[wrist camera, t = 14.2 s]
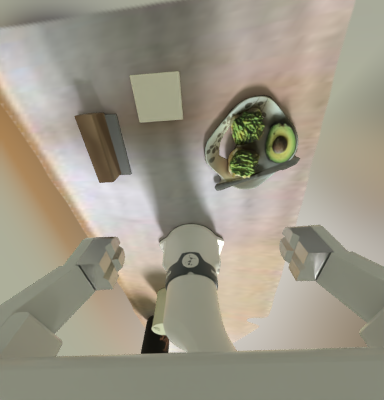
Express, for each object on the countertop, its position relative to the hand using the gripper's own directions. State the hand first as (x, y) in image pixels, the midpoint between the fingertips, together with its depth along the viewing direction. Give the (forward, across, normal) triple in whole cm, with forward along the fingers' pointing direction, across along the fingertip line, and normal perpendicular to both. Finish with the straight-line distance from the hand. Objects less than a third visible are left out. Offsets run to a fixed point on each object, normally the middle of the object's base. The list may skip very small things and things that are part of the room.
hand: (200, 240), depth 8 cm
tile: (+28, +10, -6) cm, 31 cm away
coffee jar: (+30, +21, +79) cm, 87 cm away
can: (+30, +13, +58) cm, 67 cm away
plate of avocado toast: (+30, -12, +4) cm, 33 cm away
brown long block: (+29, +18, +1) cm, 34 cm away
